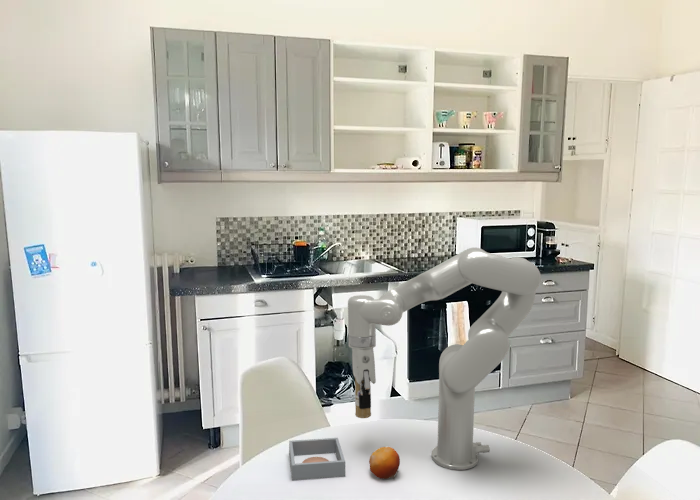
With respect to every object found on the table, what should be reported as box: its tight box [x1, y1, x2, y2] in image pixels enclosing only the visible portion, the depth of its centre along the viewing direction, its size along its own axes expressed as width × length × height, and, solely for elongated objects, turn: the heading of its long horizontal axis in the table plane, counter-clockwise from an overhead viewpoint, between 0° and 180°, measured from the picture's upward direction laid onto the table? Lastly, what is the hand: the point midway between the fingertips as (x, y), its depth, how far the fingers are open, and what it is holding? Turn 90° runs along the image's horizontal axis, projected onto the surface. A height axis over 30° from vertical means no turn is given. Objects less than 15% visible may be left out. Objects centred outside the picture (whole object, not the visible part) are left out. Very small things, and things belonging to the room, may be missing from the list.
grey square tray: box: [288, 437, 346, 481], centre depth 139 cm, size 14×14×4 cm
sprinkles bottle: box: [353, 373, 372, 419], centre depth 146 cm, size 5×5×13 cm
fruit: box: [368, 446, 401, 480], centre depth 135 cm, size 8×8×8 cm
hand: (363, 403), depth 146 cm, fingers closed on sprinkles bottle, 4 cm apart
